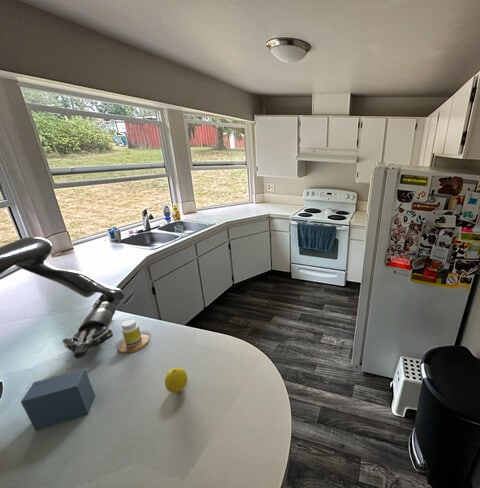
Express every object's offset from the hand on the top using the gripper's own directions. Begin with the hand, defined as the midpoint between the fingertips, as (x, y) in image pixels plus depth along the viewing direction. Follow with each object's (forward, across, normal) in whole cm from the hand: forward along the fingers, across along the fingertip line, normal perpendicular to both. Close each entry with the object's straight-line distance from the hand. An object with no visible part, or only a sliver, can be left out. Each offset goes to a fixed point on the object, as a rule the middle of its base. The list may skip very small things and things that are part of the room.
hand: (78, 355), depth 75 cm
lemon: (+18, +26, +7) cm, 33 cm away
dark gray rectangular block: (+14, 0, +7) cm, 15 cm away
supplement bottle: (-10, +11, +6) cm, 16 cm away
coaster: (-9, +11, +7) cm, 16 cm away
